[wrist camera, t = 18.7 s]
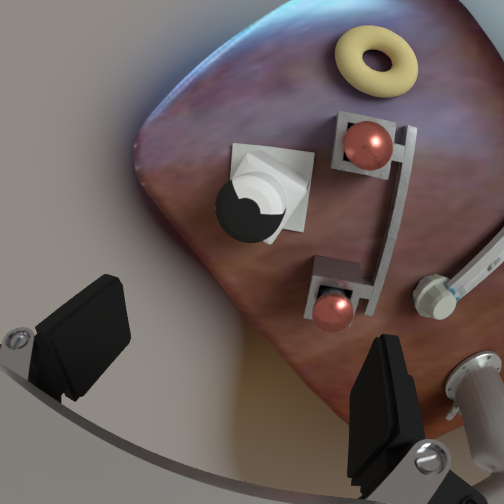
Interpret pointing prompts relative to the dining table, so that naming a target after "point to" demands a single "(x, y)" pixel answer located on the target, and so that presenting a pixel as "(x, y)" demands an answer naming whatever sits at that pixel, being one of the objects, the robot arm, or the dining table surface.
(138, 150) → the dining table surface
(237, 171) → the medicine bottle
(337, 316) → the plunger
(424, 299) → the grey piece
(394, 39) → the donut
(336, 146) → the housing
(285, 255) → the dining table surface
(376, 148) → the plunger
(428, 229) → the dining table surface
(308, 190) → the mat
